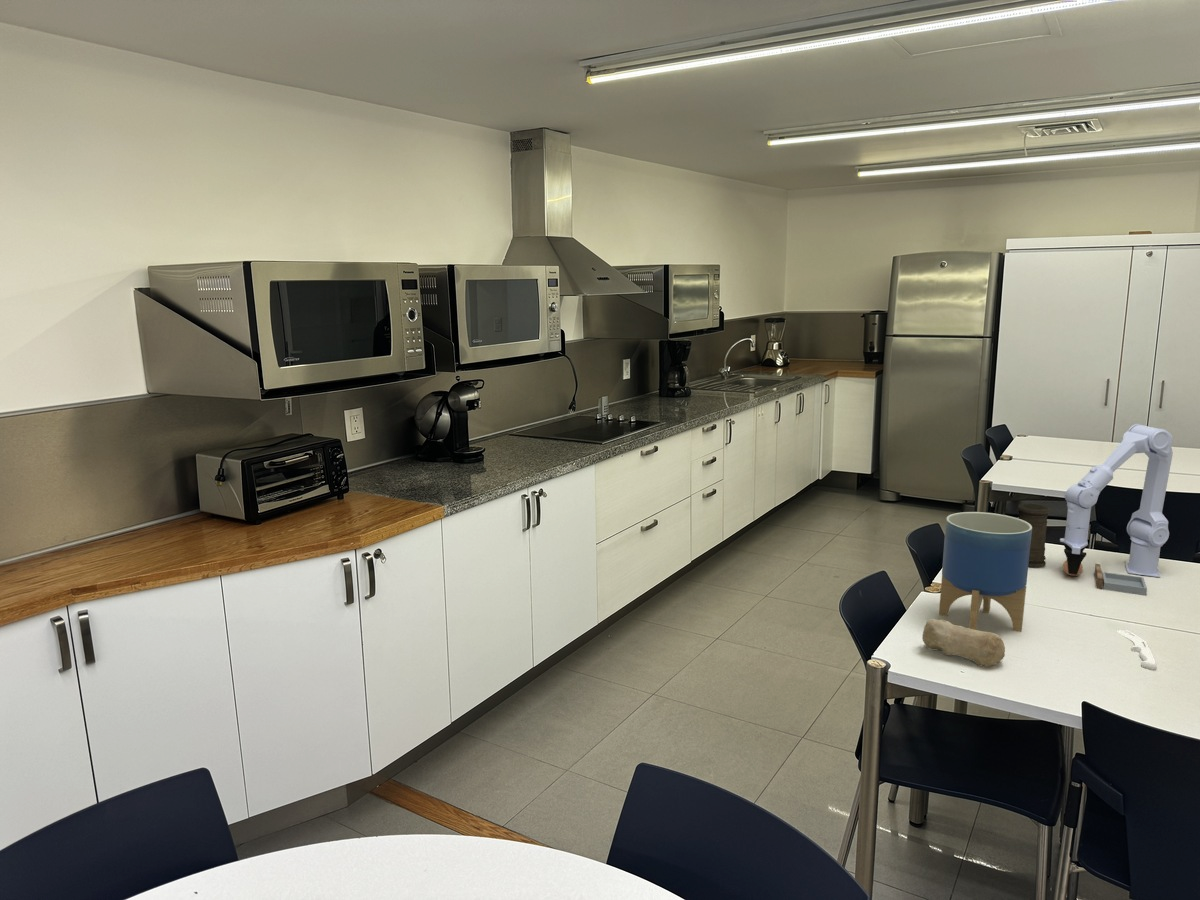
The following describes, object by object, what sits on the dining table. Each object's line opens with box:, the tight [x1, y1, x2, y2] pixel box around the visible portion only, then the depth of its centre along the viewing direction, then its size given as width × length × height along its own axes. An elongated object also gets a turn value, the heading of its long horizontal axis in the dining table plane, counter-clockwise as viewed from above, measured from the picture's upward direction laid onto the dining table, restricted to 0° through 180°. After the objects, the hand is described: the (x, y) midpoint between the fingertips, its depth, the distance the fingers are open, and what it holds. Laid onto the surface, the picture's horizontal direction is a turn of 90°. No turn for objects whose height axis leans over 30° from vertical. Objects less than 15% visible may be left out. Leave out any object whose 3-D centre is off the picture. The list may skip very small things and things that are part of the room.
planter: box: [938, 511, 1032, 633], centre depth 204 cm, size 19×19×26 cm
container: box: [1017, 503, 1050, 569], centre depth 249 cm, size 9×9×18 cm
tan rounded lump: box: [921, 618, 1006, 667], centre depth 187 cm, size 9×17×10 cm
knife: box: [1116, 629, 1158, 671], centre depth 195 cm, size 30×2×8 cm
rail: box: [1093, 563, 1103, 590], centre depth 235 cm, size 14×1×3 cm, turn 152°
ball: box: [1062, 559, 1084, 577], centre depth 239 cm, size 5×5×5 cm
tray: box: [1102, 571, 1148, 596], centre depth 230 cm, size 10×10×2 cm
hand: (1072, 570), depth 240 cm, fingers closed on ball, 5 cm apart
